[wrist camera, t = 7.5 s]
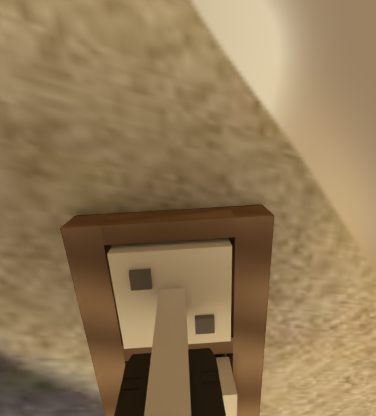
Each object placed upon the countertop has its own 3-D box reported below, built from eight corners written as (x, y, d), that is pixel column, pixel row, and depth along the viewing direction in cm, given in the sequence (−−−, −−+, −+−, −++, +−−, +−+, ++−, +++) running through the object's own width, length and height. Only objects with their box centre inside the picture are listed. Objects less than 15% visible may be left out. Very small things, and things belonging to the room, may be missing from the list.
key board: (75, 215, 15) (60, 228, 13) (262, 204, 15) (274, 215, 13) (130, 473, 24) (126, 503, 22) (247, 463, 24) (253, 491, 22)
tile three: (117, 234, 15) (105, 256, 13) (223, 228, 16) (233, 248, 13) (131, 319, 18) (123, 353, 15) (223, 313, 18) (231, 345, 15)
